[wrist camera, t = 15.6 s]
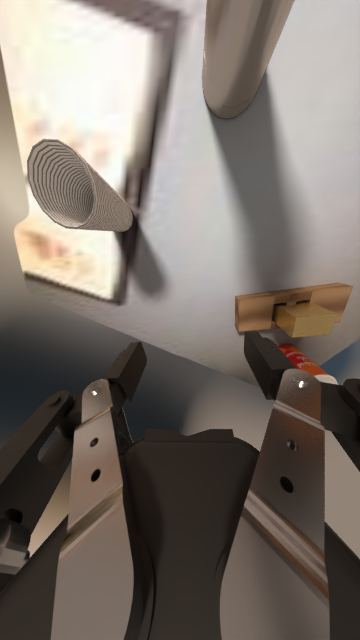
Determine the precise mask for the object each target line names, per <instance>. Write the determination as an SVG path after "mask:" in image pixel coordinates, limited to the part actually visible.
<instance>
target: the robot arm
mask: <svg viewBox="0 0 360 640" xmlns="http://www.w3.org/2000/svg"><path fill="white" fill-rule="evenodd" d="M294 1H295V0H207V5H206V21H205V37H204V53H203V70H202V86H203V92H204V97H205V100H206V102H207V105H208V106H209V108H210V110H211V111H212V112H213V113H214V114H215V115H216V116H218V117H220V118H225V119H228V118H233V117H235V116H238V115H239V114H240V113H242V112H243V111H244V110H245V109H246V108H247V107H248V106H249V104H250V103H251V101H252V100H253V98H254V96H255V94H256V92H257V90H258V88H259V85H260V83H261V80H262V78H263V76H264V73H265V71H266V68H267V66H268V64H269V61H270V59H271V56H272V54H273V52H274V49H275V47H276V44H277V42H278V39H279V37H280V35H281V32H282V30H283V27H284V25H285V22H286V20H287V18H288V15H289V13H290V10H291V8H292V5H293V3H294ZM244 354H245V357H246V360H247V362H248V364H249V366H250V368H251V369H252V371H253V373H254V375H255V377H256V379H257V381H258V383H259V385H260V387H261V389H262V391H263V393H264V395H265V397H266V399H267V400H271V399H274V401H275V403H274V406H273V409H272V412H271V416H270V419H269V423H268V426H267V430H266V433H265V437H264V440H263V443H262V447H261V450H260V452H259V451H258V450H257V449H256V448H254V447H253V446H252V445H250V444H249V443H247V442H245V441H243V440H241V439H239V438H236V437H234V435H233V431H232V429H209V430H206V431H203V432H199V433H196V434H193V435H190V436H185V435H182V434H179V433H176V432H173V431H170V430H167V429H147V430H146V433H145V437H143V438H141V439H139V440H137V441H135V442H134V443H133V442H132V440H131V437H130V434H129V430H128V426H127V422H126V418H125V415H124V411H123V409H122V406H123V404H124V403H131V401H132V398H133V396H134V393H135V391H136V388H137V386H138V383H139V381H140V378H141V376H142V373H143V371H144V368H145V366H146V362H147V358H146V355H145V352H144V349H143V346H142V343H141V342H135V343H130V344H129V346H128V347H127V349H125V350H124V351H122V352H121V353H120V354H119V355H118V357H117V358H116V360H115V361H114V363H113V364H112V366H111V367H110V368H109V370H108V371H107V373H106V374H105V375H104V377H103V378H102V379H101V380H97V381H95V382H93V383H92V384H90V385H89V386H88V387H87V388H86V389H85V391H84V392H83V393H79V394H76V395H73V396H71V395H70V393H69V392H68V391H61V392H58V393H56V394H55V395H53V396H51V397H50V398H49V399H47V400H46V401H45V402H44V403H43V404H42V405H41V406H40V407H39V408H38V410H37V411H36V412H35V413H34V414H33V415H32V416H31V417H30V418H29V419H28V420H27V421H26V423H25V424H24V425H23V426H22V427H21V428H20V429H19V430H18V431H17V432H16V433H15V435H14V436H13V437H12V438H11V439H10V440H9V441H8V442H7V443H6V444H5V445H4V446H3V448H2V449H1V450H0V640H360V559H359V558H358V557H357V556H356V555H355V553H354V552H353V551H352V550H351V549H350V548H349V547H348V546H347V545H346V544H345V543H344V542H343V541H342V539H341V538H340V537H339V536H338V535H337V534H336V533H335V532H334V531H333V530H332V529H331V528H330V526H328V525H327V523H326V522H325V521H324V510H325V509H324V507H325V505H324V504H325V503H324V502H325V497H324V496H325V489H324V488H325V487H324V486H325V485H324V484H325V474H324V473H325V430H329V431H331V432H332V433H333V435H334V436H335V438H336V439H337V440H338V442H339V443H340V445H341V446H342V448H343V449H344V450H345V452H346V453H347V455H348V456H349V457H350V459H351V460H352V462H353V463H354V464H355V466H356V467H357V469H358V470H359V471H360V379H347V380H345V382H344V384H343V386H342V385H337V384H331V383H325V382H321V381H318V379H317V378H316V377H314V376H313V375H311V374H310V373H308V372H306V371H303V370H299V369H297V368H296V367H295V365H294V364H293V363H292V362H291V361H290V360H289V359H288V358H287V356H286V355H285V354H284V353H283V352H282V351H281V350H280V349H279V348H278V346H277V345H276V344H275V343H274V342H273V341H271V340H269V339H268V338H262V337H261V335H260V334H259V333H258V332H257V331H255V332H246V333H245V338H244ZM54 429H56V430H57V431H58V432H59V434H58V435H57V437H56V438H55V439H54V441H53V442H52V444H51V445H50V447H49V448H48V450H47V451H46V453H45V454H44V456H43V457H42V458H41V460H40V461H39V460H38V453H39V450H40V448H41V447H42V446H43V444H44V443H45V441H46V440H47V439H48V437H49V436H50V434H51V433H52V432H53V430H54ZM72 457H73V459H72ZM71 459H72V473H71V488H70V502H69V514H68V515H67V516H66V517H65V519H63V521H62V522H61V523H60V524H59V526H58V527H57V528H56V529H55V530H54V531H53V532H52V533H51V534H50V536H49V537H48V538H47V539H46V540H45V541H44V542H43V544H42V545H41V546H40V547H39V548H38V550H37V551H36V552H35V553H34V554H33V555H32V556H31V557H30V552H29V551H28V547H29V543H30V538H31V534H32V532H33V530H34V528H35V526H36V525H37V523H38V521H39V519H40V517H41V515H42V513H43V512H44V510H45V508H46V506H47V504H48V502H49V500H50V499H51V497H52V495H53V493H54V491H55V489H56V487H57V485H58V484H59V482H60V480H61V478H62V476H63V474H64V472H65V470H66V469H67V467H68V465H69V463H70V461H71ZM29 557H30V558H29Z"/></svg>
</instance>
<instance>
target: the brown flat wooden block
mask: <svg viewBox="0 0 360 640" xmlns="http://www.w3.org/2000/svg"><path fill="white" fill-rule="evenodd" d="M352 288H353V286H350V285H345V284H341V283H335V284H327V285H319V286H311V287H303V288H295V289H288V290H280V291H272V292H264V293H256V294H249V295H241V296H235V326H236V328H237V330H238V332H242V331H253V330H263V329H274V328H280V327H279V326H278V325H277V324H276V323H277V321H276V320H274V319H273V318H272V313H273V306H274V304H278V303H280V304H282V305H283V306H290V305H296V301H304V302H306V303H314V304H317V305H319V306H321V307H323V308H326V309H328V310H330V311H333V312H335V313H337V316H336V319H335V322H334V323H338V322H340V320H341V317H342V315H343V312H344V309H345V307H346V304H347V302H348V299H349V296H350V294H351V291H352Z"/></svg>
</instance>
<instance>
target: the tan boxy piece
mask: <svg viewBox="0 0 360 640" xmlns="http://www.w3.org/2000/svg"><path fill="white" fill-rule="evenodd" d="M336 316H337V313H335V312H333V311H330V310H328V309H326V308H323V307H321V306H319V305H317V304H314V303H306V302H304V301H296V305H290V306H283V305H282V304H280V303H278V304H274V306H273V313H272V318H273V319H274V320H276V321H277V323H276V324H277V325H278V326H279V327H280V328H281V329H283V330H284V331H285V332H286V333H287V334H288V335H289V336H291V337H292V338H294V337H305V336H316V335H328V334H330V333H331V330H332V327H333V325H334V322H335V319H336Z"/></svg>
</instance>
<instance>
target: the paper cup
mask: <svg viewBox="0 0 360 640" xmlns="http://www.w3.org/2000/svg"><path fill="white" fill-rule="evenodd" d="M278 348H279V349H280V350H281V351H282V352H283V353H284V354H285V355H286V356H287V358H288V359H289V360H290V361H291V362H292V363H293V364H294V365H295V367H296V368H297V369H299V370H303V371H306V372H308V373H310V374H311V375H313V376H314V377H316V378H317V379H318V381H321V382H325V383H331V384H337V381H336V379H335V378H334V377H332V376H330V375H328V374H327V373H326V372H324V371H323V370H322V369H321V368H319V367H318V366H317V365H316V364H315V363H313V362H312V361H311V360H310V359H309V358H307V357H306V356H305V355H304V354H302V353H301V352H300V351H299V350H298V349H296V348H295V347H294V346H292V345H290V344H284V345H281V346H279V347H278ZM337 385H338V384H337Z"/></svg>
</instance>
